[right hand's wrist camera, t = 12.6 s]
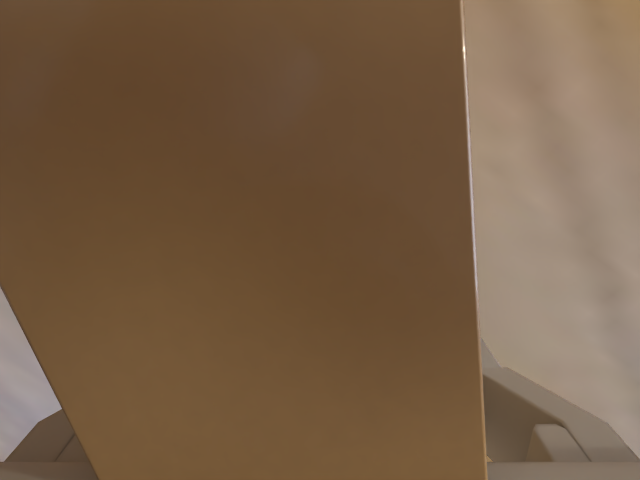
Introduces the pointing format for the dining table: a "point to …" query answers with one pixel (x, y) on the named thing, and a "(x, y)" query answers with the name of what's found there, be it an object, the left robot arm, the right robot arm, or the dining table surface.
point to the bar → (246, 234)
